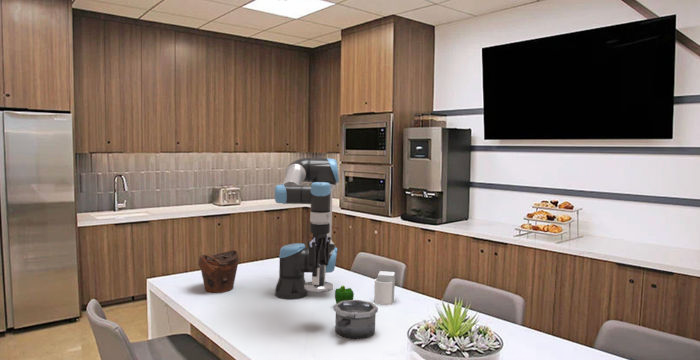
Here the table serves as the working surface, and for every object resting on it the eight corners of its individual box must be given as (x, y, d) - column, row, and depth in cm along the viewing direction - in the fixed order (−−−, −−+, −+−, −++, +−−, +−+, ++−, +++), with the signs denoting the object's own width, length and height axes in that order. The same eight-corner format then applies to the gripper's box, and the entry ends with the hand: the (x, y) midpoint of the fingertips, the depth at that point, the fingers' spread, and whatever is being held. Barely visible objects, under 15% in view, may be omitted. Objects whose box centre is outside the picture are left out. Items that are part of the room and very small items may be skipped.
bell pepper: (343, 302, 212) (344, 280, 211) (357, 307, 206) (357, 285, 205) (329, 306, 206) (330, 284, 205) (343, 312, 200) (343, 288, 199)
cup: (400, 299, 218) (400, 278, 218) (386, 306, 209) (386, 283, 208) (385, 296, 223) (385, 274, 223) (370, 302, 214) (371, 280, 213)
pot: (321, 338, 172) (322, 312, 171) (350, 317, 194) (350, 294, 193) (360, 347, 166) (361, 320, 165) (385, 324, 187) (386, 301, 186)
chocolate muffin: (188, 291, 221) (189, 253, 220) (216, 281, 240) (216, 246, 239) (220, 298, 215) (221, 258, 213) (245, 286, 233) (246, 250, 232)
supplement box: (392, 303, 212) (393, 275, 211) (376, 302, 214) (377, 274, 213) (394, 298, 219) (395, 271, 218) (378, 297, 221) (379, 270, 220)
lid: (298, 289, 180) (299, 265, 180) (312, 282, 190) (313, 259, 190) (324, 293, 176) (325, 269, 175) (337, 286, 186) (338, 263, 185)
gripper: (317, 226, 172) (315, 290, 174) (339, 220, 187) (337, 279, 189) (299, 224, 176) (298, 286, 177) (322, 219, 191) (321, 276, 192)
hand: (318, 282), depth 183 cm, fingers closed on lid, 4 cm apart
